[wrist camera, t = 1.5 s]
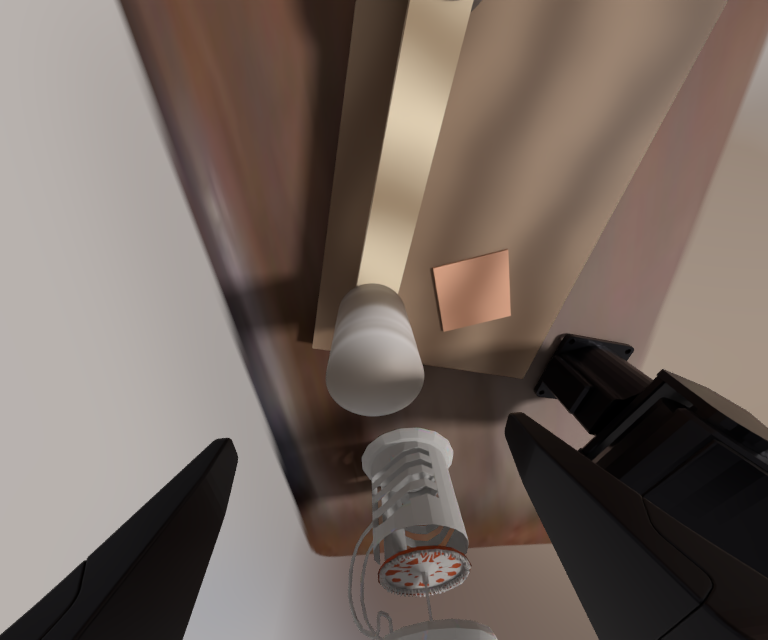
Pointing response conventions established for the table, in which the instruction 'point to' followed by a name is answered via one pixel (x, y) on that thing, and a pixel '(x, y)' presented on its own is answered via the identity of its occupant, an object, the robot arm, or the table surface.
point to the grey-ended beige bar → (397, 219)
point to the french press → (416, 530)
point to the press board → (507, 163)
